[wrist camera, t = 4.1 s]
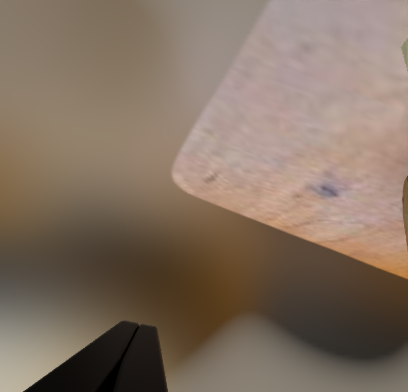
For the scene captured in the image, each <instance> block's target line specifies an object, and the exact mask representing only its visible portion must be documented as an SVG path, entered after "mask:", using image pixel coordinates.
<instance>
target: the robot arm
mask: <svg viewBox="0 0 408 392" xmlns="http://www.w3.org/2000/svg"><path fill="white" fill-rule="evenodd" d="M23 392H168V389H167V383H166V377H165V371H164V365H163V359H162V353H161V347H160V341H159V335H158V329H157V327H156V326H152V325H146V324H141V325H140V326H139V324H138V323H136V322H130V321H121V322H119V323H118V324H117V325H115V326H114V327H112V328H111V329H110V330H108V331H107V332H106V333H104V334H103V335H101V336H100V337H99V338H97V339H96V340H95V341H93V342H92V343H90V344H89V345H87V346H86V347H85V348H83V349H82V350H81V351H79V352H78V353H76V354H75V355H73V356H72V357H71V358H69V359H68V360H67V361H65V362H64V363H62V364H61V365H60V366H58V367H57V368H55V369H54V370H53V371H52V372H50V373H48V374H47V375H46V376H44V377H43V378H42V379H40V380H39V381H37V382H36V383H34V384H33V385H32V386H30V387H29V388H28V389H26V390H25V391H23Z"/></svg>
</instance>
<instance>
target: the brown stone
mask: <svg viewBox="0 0 408 392" xmlns="http://www.w3.org/2000/svg"><path fill="white" fill-rule="evenodd" d="M402 202H403V219H404V226H405V233H406V242H407V249H408V176H407V178H406V180H405V182H404V187H403V197H402Z"/></svg>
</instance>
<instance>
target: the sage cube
mask: <svg viewBox="0 0 408 392" xmlns="http://www.w3.org/2000/svg"><path fill="white" fill-rule="evenodd" d="M401 49H402V53H403V56H404V60H405V63H406V67H407V70H408V38H407V39H406V41H405V42H404V44H403V45H402V47H401Z"/></svg>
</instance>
